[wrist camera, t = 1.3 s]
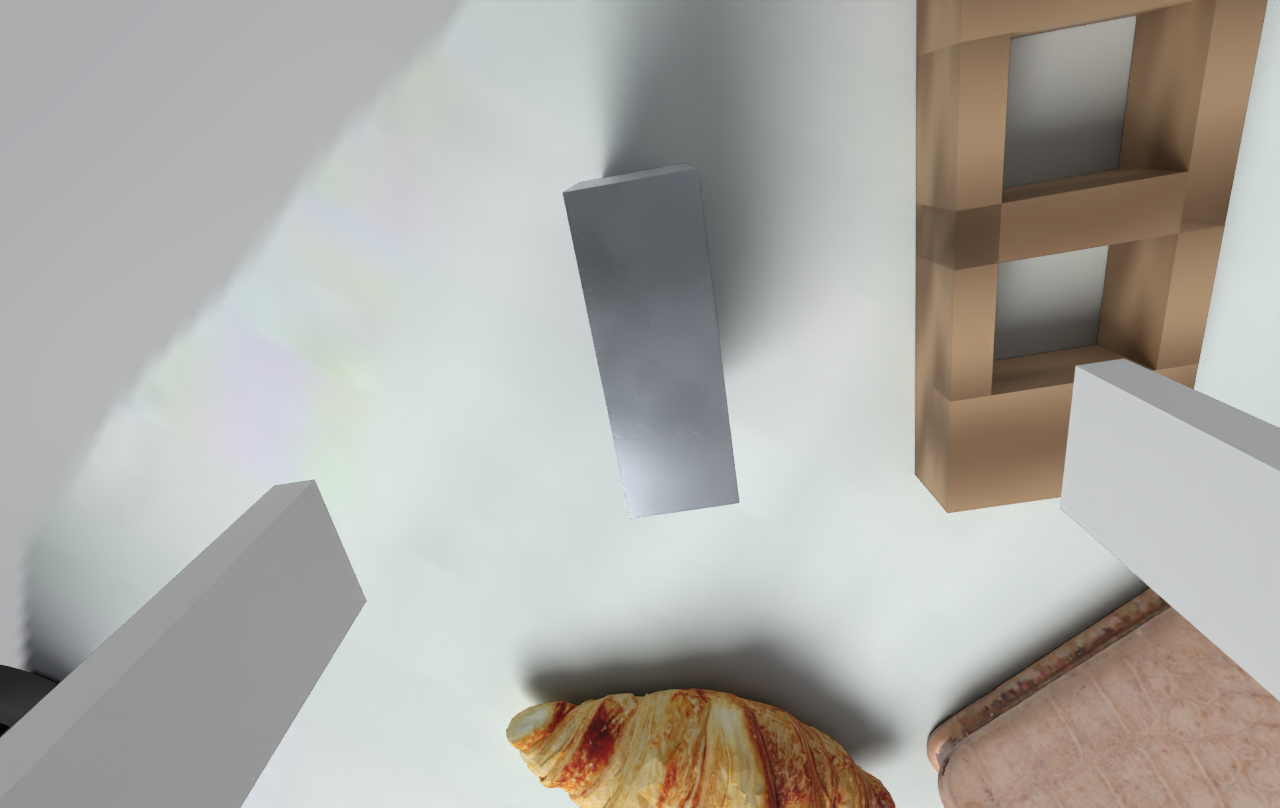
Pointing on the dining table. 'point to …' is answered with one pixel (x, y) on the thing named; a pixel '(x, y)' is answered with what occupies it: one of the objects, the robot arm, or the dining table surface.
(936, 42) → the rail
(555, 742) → the croissant
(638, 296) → the grey bridge block
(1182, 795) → the case
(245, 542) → the robot arm
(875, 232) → the dining table surface
